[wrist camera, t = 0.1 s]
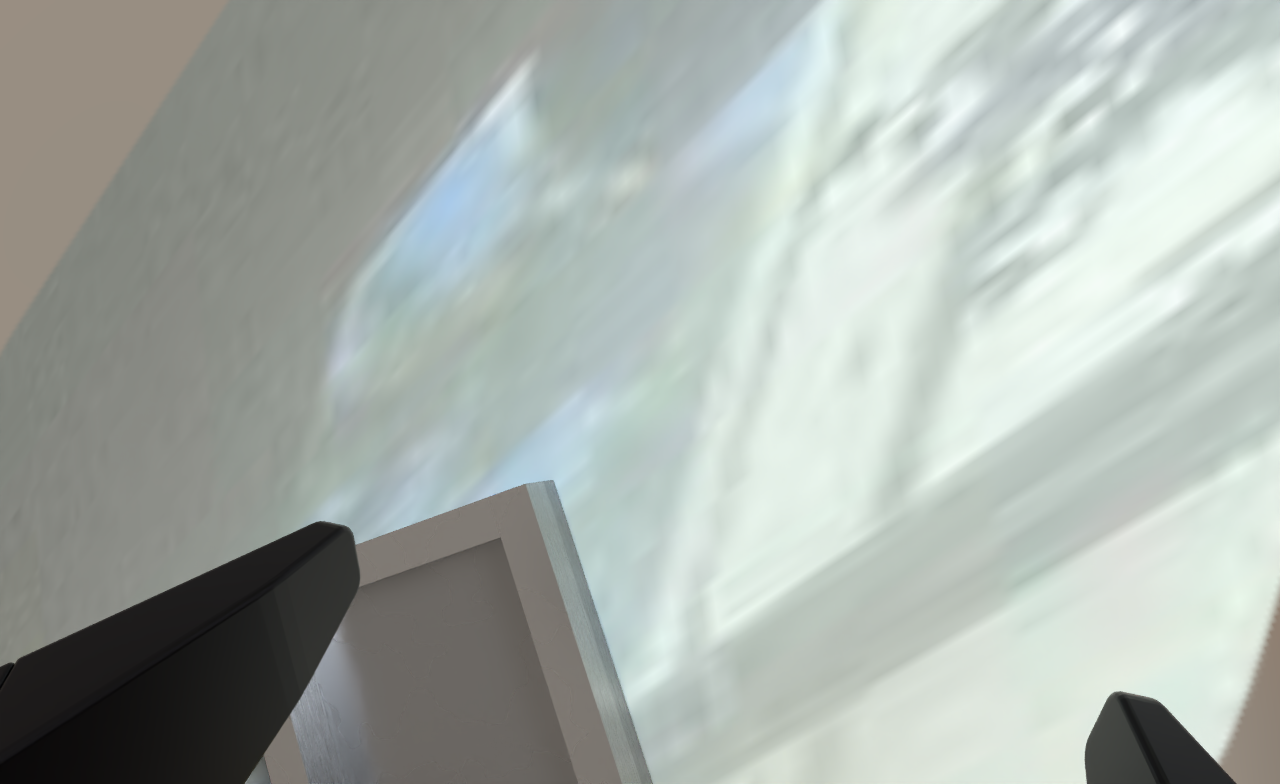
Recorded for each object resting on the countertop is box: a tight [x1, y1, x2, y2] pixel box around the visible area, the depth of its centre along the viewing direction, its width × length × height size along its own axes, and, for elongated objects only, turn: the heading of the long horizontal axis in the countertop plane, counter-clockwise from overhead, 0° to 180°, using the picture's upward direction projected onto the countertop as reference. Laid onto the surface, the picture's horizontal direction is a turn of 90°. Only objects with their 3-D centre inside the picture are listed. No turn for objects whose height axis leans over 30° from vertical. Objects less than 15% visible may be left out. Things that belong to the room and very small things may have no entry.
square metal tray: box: [264, 480, 653, 784], centre depth 24 cm, size 11×10×3 cm
